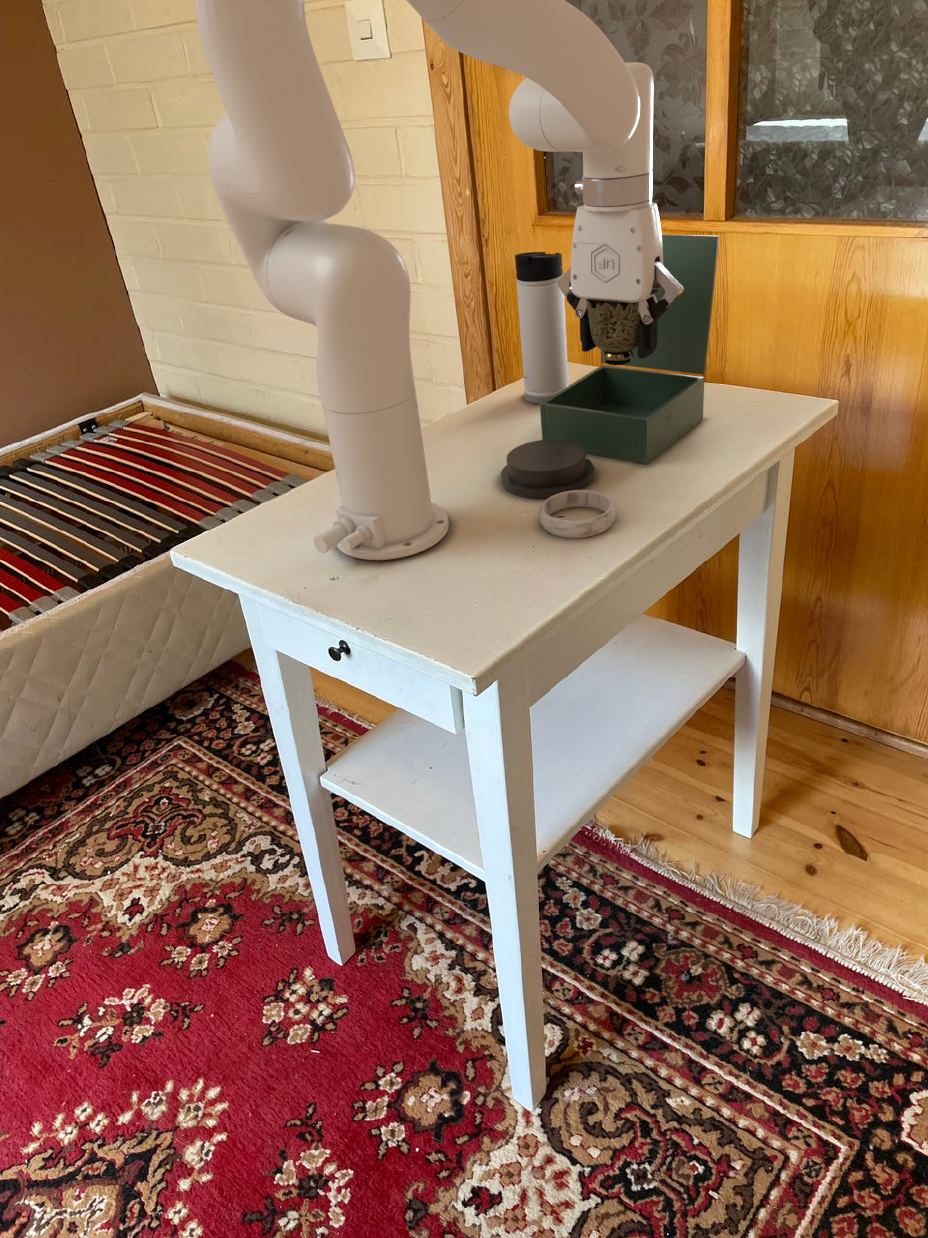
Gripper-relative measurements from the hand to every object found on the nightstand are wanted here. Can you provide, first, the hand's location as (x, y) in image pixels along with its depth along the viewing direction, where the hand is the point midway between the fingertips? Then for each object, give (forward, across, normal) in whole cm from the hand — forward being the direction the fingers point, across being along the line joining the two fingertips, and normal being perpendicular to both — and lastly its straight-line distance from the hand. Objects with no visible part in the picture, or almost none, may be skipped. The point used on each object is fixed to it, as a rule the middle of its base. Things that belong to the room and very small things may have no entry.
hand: (618, 350), depth 113 cm
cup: (+2, 0, 0) cm, 2 cm away
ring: (+11, +8, -23) cm, 26 cm away
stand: (+11, -1, -15) cm, 18 cm away
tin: (+11, 0, +1) cm, 11 cm away
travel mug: (+11, -16, +8) cm, 21 cm away
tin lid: (-3, 0, +9) cm, 10 cm away
